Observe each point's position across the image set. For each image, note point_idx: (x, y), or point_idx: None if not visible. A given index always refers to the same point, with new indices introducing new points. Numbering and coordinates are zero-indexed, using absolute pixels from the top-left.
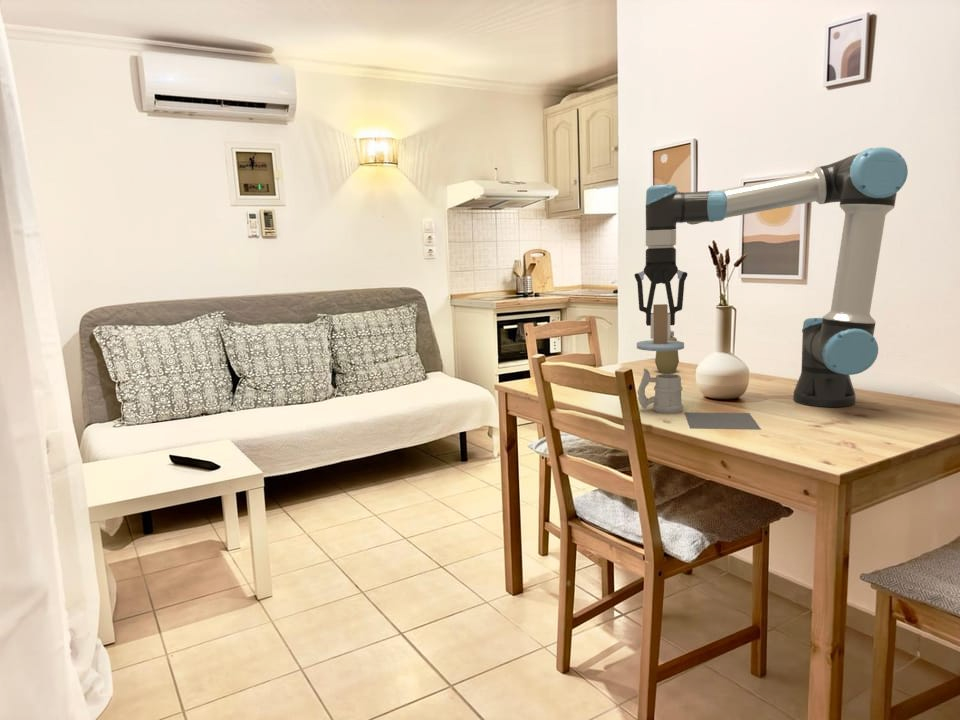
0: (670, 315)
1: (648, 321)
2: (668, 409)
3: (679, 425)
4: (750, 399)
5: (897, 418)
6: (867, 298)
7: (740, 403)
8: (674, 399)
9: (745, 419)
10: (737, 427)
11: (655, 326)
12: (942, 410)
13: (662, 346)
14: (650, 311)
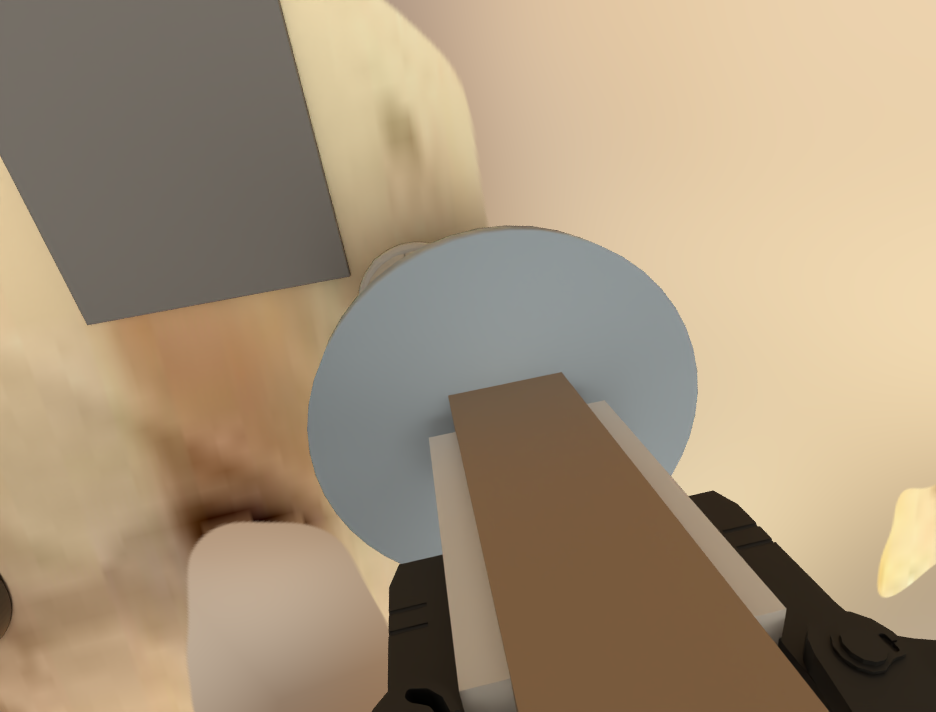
0: (457, 683)
1: (730, 534)
2: (409, 243)
3: (336, 72)
4: (162, 557)
5: None
6: None
7: (182, 495)
8: (386, 268)
9: (67, 204)
10: (52, 29)
11: (615, 467)
12: None
13: (473, 236)
14: (828, 652)
